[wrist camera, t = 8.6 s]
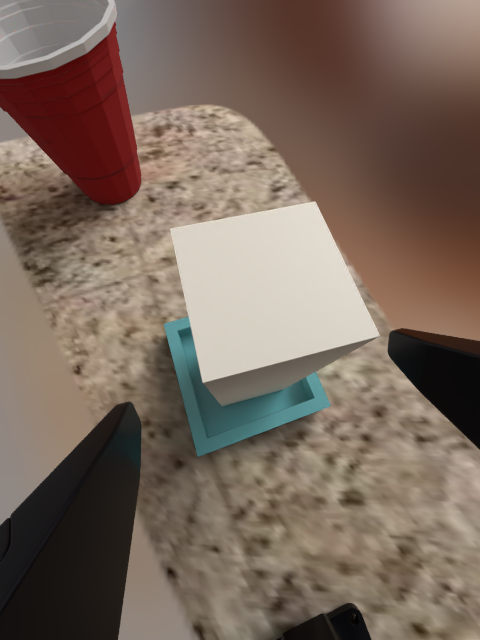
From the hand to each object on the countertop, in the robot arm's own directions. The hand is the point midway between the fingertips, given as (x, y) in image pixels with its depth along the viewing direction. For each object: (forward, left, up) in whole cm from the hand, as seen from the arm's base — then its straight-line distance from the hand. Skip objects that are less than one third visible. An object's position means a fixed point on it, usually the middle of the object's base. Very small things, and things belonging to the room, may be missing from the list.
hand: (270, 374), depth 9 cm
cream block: (+2, 0, -10) cm, 11 cm away
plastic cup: (+24, +6, -11) cm, 27 cm away
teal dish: (+2, 0, -11) cm, 11 cm away
